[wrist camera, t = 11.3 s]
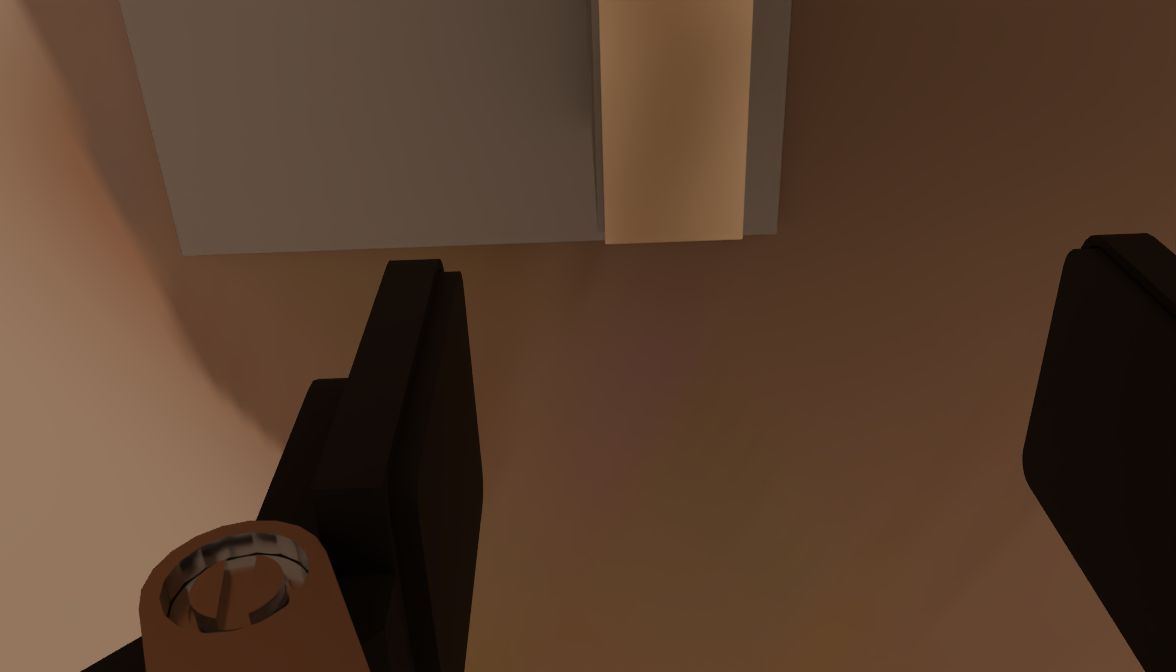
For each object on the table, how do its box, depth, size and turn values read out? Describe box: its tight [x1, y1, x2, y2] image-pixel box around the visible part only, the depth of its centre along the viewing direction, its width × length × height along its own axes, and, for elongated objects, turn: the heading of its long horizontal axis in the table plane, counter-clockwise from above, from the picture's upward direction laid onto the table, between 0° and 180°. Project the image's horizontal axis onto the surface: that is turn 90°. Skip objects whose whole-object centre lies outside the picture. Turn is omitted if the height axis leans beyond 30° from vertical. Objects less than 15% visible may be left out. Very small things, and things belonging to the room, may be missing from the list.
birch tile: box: [587, 0, 753, 244], centre depth 24 cm, size 3×7×8 cm, turn 2°
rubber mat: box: [119, 0, 792, 256], centre depth 28 cm, size 18×14×1 cm
